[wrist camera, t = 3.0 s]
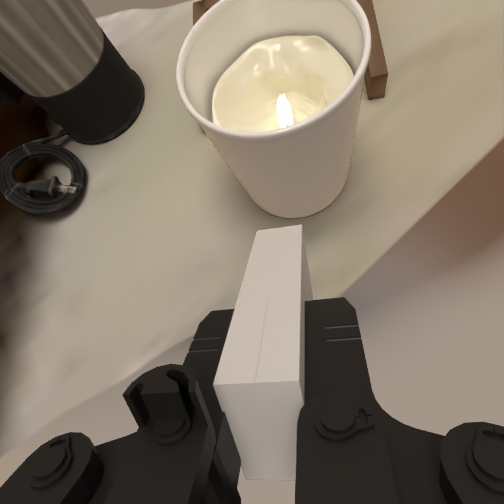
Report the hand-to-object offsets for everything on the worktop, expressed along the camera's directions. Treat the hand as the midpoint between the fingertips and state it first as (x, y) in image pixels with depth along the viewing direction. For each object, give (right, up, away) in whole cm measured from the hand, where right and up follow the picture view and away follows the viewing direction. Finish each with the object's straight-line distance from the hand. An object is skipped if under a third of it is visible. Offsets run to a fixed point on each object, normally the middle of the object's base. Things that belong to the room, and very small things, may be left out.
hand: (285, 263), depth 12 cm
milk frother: (-17, +11, +23) cm, 31 cm away
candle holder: (+2, +7, +17) cm, 18 cm away
